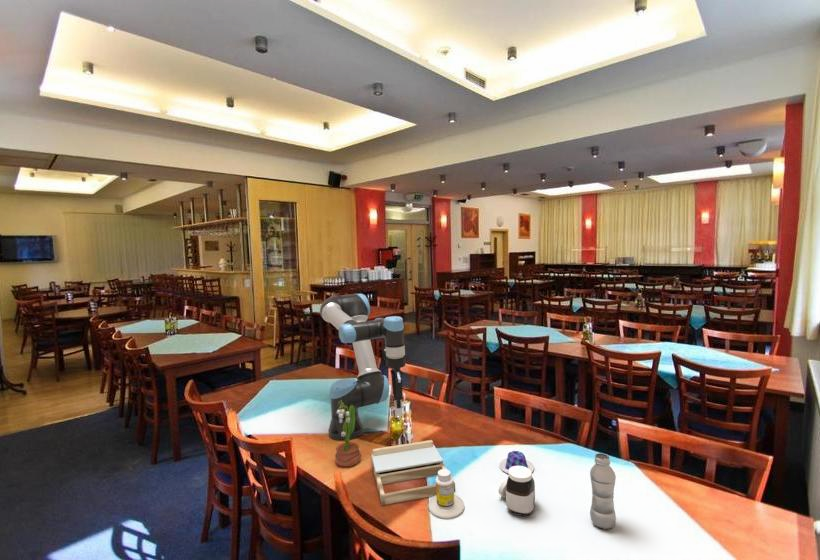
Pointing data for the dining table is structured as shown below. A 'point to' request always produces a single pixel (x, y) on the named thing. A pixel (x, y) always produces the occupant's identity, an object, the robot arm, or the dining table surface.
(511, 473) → the spread jar
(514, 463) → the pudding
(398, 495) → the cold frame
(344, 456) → the potted flower
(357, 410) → the robot arm
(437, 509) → the saucer
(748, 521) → the dining table surface
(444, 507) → the supplement bottle
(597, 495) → the plastic bottle
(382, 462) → the lid
